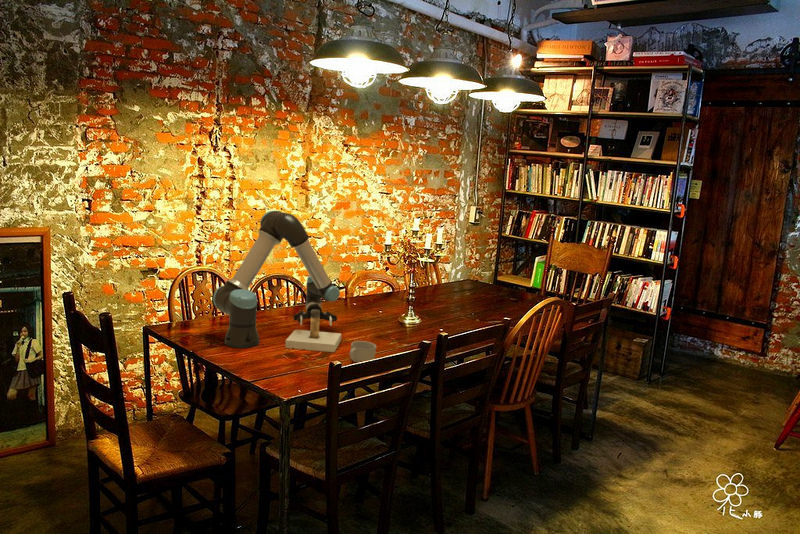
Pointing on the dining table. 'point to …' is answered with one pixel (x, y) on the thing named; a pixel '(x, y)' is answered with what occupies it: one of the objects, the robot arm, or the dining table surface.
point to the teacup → (362, 351)
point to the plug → (314, 323)
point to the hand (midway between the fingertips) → (316, 322)
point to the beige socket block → (313, 341)
